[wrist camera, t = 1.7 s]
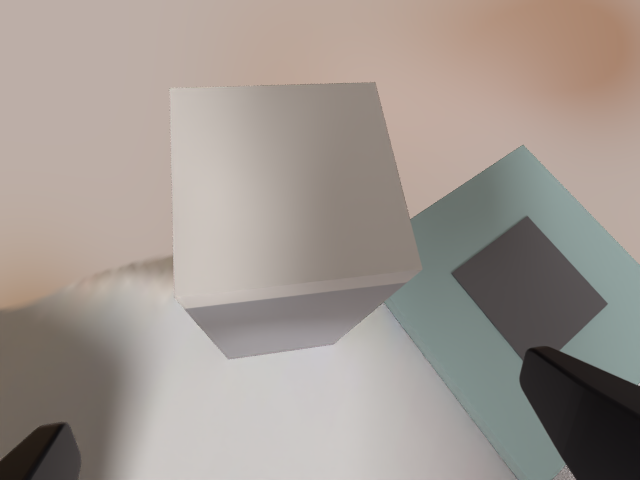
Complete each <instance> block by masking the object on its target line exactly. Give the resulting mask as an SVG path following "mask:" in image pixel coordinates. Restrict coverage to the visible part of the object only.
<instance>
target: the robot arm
mask: <svg viewBox="0 0 640 480" xmlns="http://www.w3.org/2000/svg"><path fill="white" fill-rule="evenodd" d="M519 382H520V386H521V388H522V391H523V392H524V394H525V396H526V398H527V399H528V401H529V403H530V405H531V406H532V408H533V410H534V411H535V413H536V415H537V417H538V418H539V420H540V422H541V424H542V425H543V427H544V429H545V431H546V432H547V434H548V436H549V438H550V439H551V441H552V443H553V444H554V446H555V448H556V449H557V451H558V453H559V454H560V456H561V458H562V459H563V461H564V462H565V464H566V465H567V467H568V468H569V470H570V471H571V473H572V474H573V475H574V477H575V478H576V480H640V386H638V385H636V384H634V383H631V382H629V381H627V380H625V379H622V378H620V377H618V376H615V375H613V374H611V373H609V372H606V371H604V370H602V369H600V368H597V367H595V366H593V365H590V364H588V363H586V362H584V361H581V360H579V359H577V358H575V357H572V356H570V355H568V354H565V353H563V352H561V351H559V350H556V349H554V348H552V347H549V346H538V347H531V348H529V349H527V350H526V352H525V355H524V359H523V363H522V367H521V371H520V376H519ZM80 467H81V455H80V451H79V449H78V446H77V443H76V441H75V438H74V435H73V433H72V430H71V427H70V426H69V424H68V423H66V422H59V423H53V424H46V425H42V426H40V427H38V428H37V429H35V430H34V431H33V432H32V433H31V434H30V435H29V436H28V437H26V438H25V439H24V440H23V441H22V442H21V443H20V444H19V445H17V446H16V447H15V448H14V449H13V450H12V451H11V452H10V453H9V454H7V455H6V456H5V457H4V458H3V459H2V460H1V461H0V480H78V477H79V472H80Z"/></svg>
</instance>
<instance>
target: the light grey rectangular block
mask: <svg viewBox="0 0 640 480" xmlns="http://www.w3.org/2000/svg"><path fill="white" fill-rule="evenodd" d="M170 131H171V175H172V177H171V178H172V221H173V268H174V298H175V299H176V300H177V301H178V303H179V304H180V305H181V306H182V307H183V308H184V309H185V311H186V312H187V313H188V314H189V315H190V316H191V317H192V318H193V320H194V321H195V322H196V323H197V324H198V325H199V326H200V328H201V329H202V330H203V331H204V332H205V333H206V334H207V336H208V337H209V338H210V339H211V340H212V341H213V342H214V344H215V345H216V346H217V347H218V348H219V349H220V350H221V352H222V353H223V354H224V355H225V356H226V357H227V358H228V359H235V358H242V357H249V356H256V355H263V354H270V353H277V352H284V351H291V350H298V349H305V348H312V347H319V346H326V345H333V344H335V343H336V342H337V341H338V340H339V339H340V338H342V337H343V336H344V335H345V334H346V333H348V332H349V331H350V330H351V329H352V328H354V327H355V326H356V325H357V324H358V323H359V322H361V321H362V320H363V319H364V318H365V317H367V316H368V315H369V314H370V313H371V312H373V311H374V310H375V309H376V308H377V307H378V306H380V305H381V304H382V303H383V302H384V301H386V300H387V299H388V298H389V297H390V296H392V295H393V294H394V293H395V292H396V291H397V290H399V289H400V288H401V287H402V286H403V285H405V284H406V283H407V282H408V281H409V280H411V279H412V278H413V277H414V276H415V275H416V274H418V273H419V272H420V271H421V270H422V265H421V261H420V257H419V253H418V249H417V245H416V241H415V237H414V233H413V229H412V225H411V221H410V218H409V214H408V210H407V206H406V202H405V198H404V194H403V190H402V186H401V182H400V178H399V174H398V170H397V166H396V162H395V159H394V154H393V151H392V147H391V143H390V139H389V135H388V131H387V127H386V123H385V119H384V115H383V111H382V107H381V103H380V99H379V95H378V91H377V88H376V84H375V82H374V83H337V84H300V85H265V86H264V85H263V86H227V87H191V88H170Z"/></svg>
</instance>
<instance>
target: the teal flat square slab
mask: <svg viewBox="0 0 640 480" xmlns="http://www.w3.org/2000/svg"><path fill="white" fill-rule="evenodd" d="M410 221H411V225H412V229H413V233H414V237H415V241H416V245H417V249H418V253H419V257H420V261H421V265H422V270H421V271H420V272H419V273H418V274H416V275H415V276H414V277H413V278H412V279H411V280H409V281H408V282H407V283H406V284H405V285H403V286H402V287H401V288H400V289H399V290H397V291H396V292H395V293H394V294H393V295H392V296H390V297H389V298H388V299H387V300H386V301H384V303H385V304H386V306H387V307H388V308H389V309H390V311H391V312H392V313H393V315H394V316H395V317H396V319H397V320H398V321H399V323H400V324H401V325H402V327H403V328H404V329H405V331H406V332H407V333H408V335H409V336H410V337H411V339H412V340H413V341H414V343H415V344H416V345H417V347H418V348H419V349H420V351H421V352H422V353H423V354H424V356H425V357H426V358H427V360H428V361H429V362H430V364H431V365H432V366H433V368H434V369H435V370H436V372H437V373H438V374H439V376H440V377H441V378H442V380H443V381H444V382H445V384H446V385H447V386H448V388H449V389H450V390H451V392H452V393H453V394H454V395H455V397H456V398H457V399H458V401H459V402H460V403H461V405H462V406H463V407H464V409H465V410H466V411H467V413H468V414H469V415H470V417H471V418H472V419H473V421H474V422H475V423H476V425H477V426H478V427H479V429H480V430H481V431H482V433H483V434H484V435H485V436H486V438H487V439H488V440H489V442H490V443H491V444H492V446H493V447H494V448H495V450H496V451H497V452H498V454H499V455H500V456H501V458H502V459H503V460H504V462H505V463H506V464H507V466H508V467H509V468H510V470H511V471H512V472H513V474H514V475H515V476H516V477H517V479H518V480H552V479H553V478H554V477H555V476H556V475H557V474H558V473H559V471H560V470H561V469H562V468H563V467H564V466H565V465H566V464H565V462H564V461H563V459H562V458H561V456H560V454H559V453H558V451H557V449H556V448H555V446H554V444H553V443H552V441H551V439H550V438H549V436H548V434H547V432H546V431H545V429H544V427H543V425H542V424H541V422H540V420H539V418H538V417H537V415H536V413H535V411H534V410H533V408H532V406H531V405H530V403H529V401H528V399H527V398H526V396H525V394H524V392H523V391H522V388H521V386H520V382H519V376H520V371H521V367H522V363H523V359H524V355H525V352H526V350H527V349H529V348H531V347H538V346H549V347H552V348H554V349H556V350H559V351H561V352H563V353H565V354H568V355H570V356H572V357H575V358H577V359H579V360H581V361H584V362H586V363H588V364H590V365H593V366H595V367H597V368H600V369H602V370H604V371H606V372H609V373H611V374H613V375H615V376H618V377H620V378H622V379H625V380H627V381H629V382H631V383H634V384H636V385H638V384H639V383H640V265H639V264H638V263H637V262H636V261H635V260H634V259H633V258H632V257H631V256H630V255H629V254H628V253H627V251H626V250H625V249H623V247H622V246H621V245H620V244H619V243H618V242H617V241H616V240H615V239H614V238H613V237H612V236H611V235H610V234H609V233H608V232H607V231H606V230H605V229H604V228H603V227H602V226H601V225H600V224H599V223H598V222H597V221H596V219H595V218H594V217H593V216H592V215H591V214H590V213H589V212H588V211H587V210H586V209H585V208H584V207H583V206H582V205H581V204H580V203H579V202H578V201H577V200H576V199H575V198H574V197H573V196H572V195H571V194H570V193H569V192H568V191H567V189H565V188H564V186H563V185H562V184H560V182H559V181H558V180H557V179H556V178H555V177H554V176H553V175H552V174H551V173H550V172H549V171H548V170H547V169H546V168H545V167H544V166H543V165H542V164H541V163H540V162H539V161H538V160H537V158H536V157H535V156H534V155H533V154H532V153H530V151H529V150H528V149H527V148H526V147H525V146H524V145H522V146H520V147H519V148H517V149H516V150H514V151H513V152H511V153H510V154H508V155H507V156H505V157H504V158H502V159H501V160H499V161H498V162H496V163H495V164H493V165H492V166H490V167H489V168H487V169H485V170H484V171H482V172H481V173H480V174H478V175H477V176H475V177H473V178H472V179H471V180H469V181H467V182H466V183H464V184H463V185H461V186H460V187H458V188H457V189H455V190H454V191H452V192H451V193H449V194H448V195H446V196H445V197H443V198H442V199H440V200H439V201H437V202H436V203H434V204H433V205H431V206H430V207H428V208H427V209H425V210H424V211H422V212H421V213H419V214H418V215H416V216H415V217H413V218H412V219H410Z"/></svg>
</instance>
